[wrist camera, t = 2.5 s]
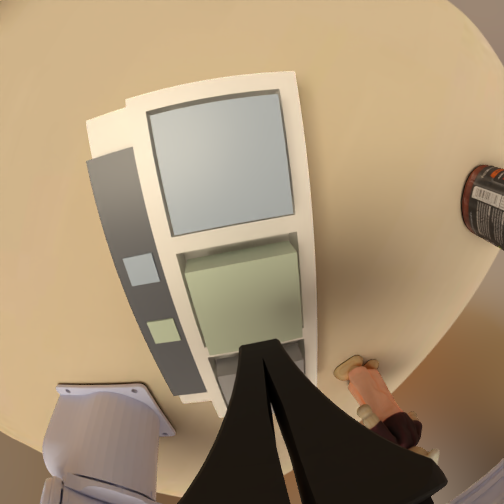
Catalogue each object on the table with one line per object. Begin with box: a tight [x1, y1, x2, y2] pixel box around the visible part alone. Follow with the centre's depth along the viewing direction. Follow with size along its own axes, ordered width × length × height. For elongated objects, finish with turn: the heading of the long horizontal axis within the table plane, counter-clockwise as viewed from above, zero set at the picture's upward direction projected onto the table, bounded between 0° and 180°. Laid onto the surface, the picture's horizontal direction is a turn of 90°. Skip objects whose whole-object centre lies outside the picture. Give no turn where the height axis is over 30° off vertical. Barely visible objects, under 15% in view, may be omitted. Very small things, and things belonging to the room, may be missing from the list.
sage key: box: [185, 241, 303, 356], centre depth 13 cm, size 5×5×1 cm
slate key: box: [150, 94, 293, 235], centre depth 11 cm, size 5×5×1 cm
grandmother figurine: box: [334, 355, 439, 465], centre depth 16 cm, size 8×4×13 cm, turn 69°
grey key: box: [216, 344, 304, 414], centre depth 16 cm, size 5×5×1 cm
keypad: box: [86, 71, 318, 418], centre depth 15 cm, size 10×20×3 cm, turn 8°
